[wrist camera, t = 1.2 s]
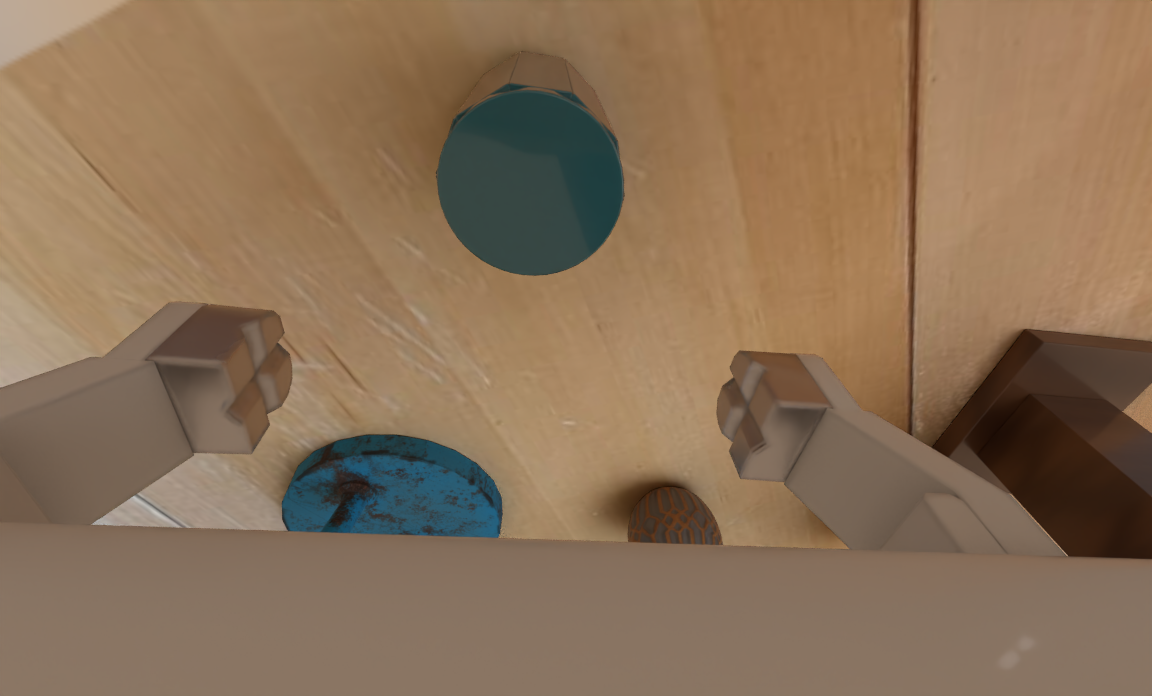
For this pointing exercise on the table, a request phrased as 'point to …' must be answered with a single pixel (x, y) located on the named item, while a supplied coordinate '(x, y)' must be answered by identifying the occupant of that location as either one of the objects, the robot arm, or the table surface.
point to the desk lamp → (392, 490)
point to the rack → (1066, 439)
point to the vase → (673, 519)
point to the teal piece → (531, 168)
